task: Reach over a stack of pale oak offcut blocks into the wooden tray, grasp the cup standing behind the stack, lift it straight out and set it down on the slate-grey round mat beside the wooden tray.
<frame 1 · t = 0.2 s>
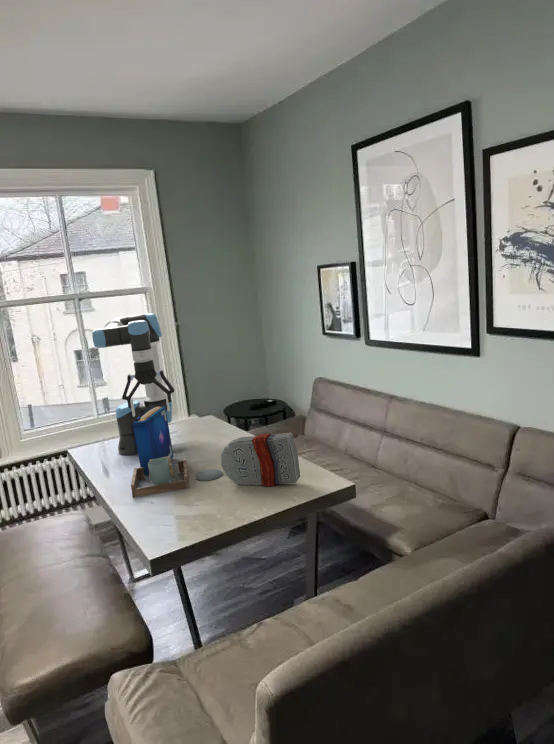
hand: (151, 413, 220), 29 cm above the table, fingers open, 13 cm apart
mat: (208, 475, 226), on the table
book: (157, 467, 242), on the table
offcut top: (160, 465, 229), point 5 cm above the table, touching offcut mid
wooden tray: (161, 483, 223), on the table
cup: (161, 485, 222), resting in wooden tray
decorative stone tablet: (261, 484, 212), on the table
offcut mid: (161, 471, 230), point 2 cm above the table, touching offcut low, offcut top
offcut low: (162, 478, 230), on the table, touching offcut mid
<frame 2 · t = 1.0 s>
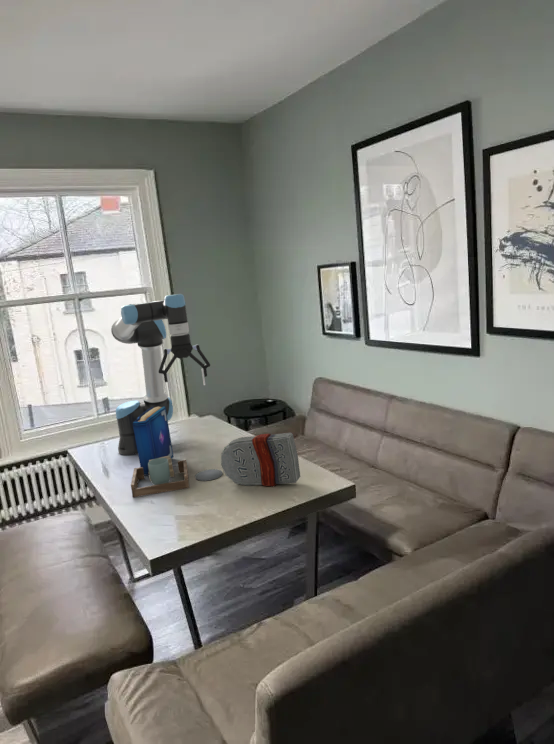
hand: (187, 387, 220), 37 cm above the table, fingers open, 13 cm apart
nothing on the table moved.
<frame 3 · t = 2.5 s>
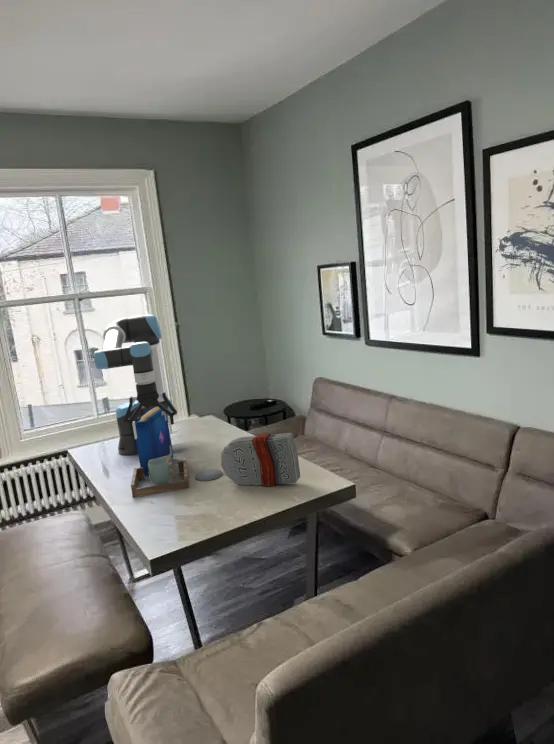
hand: (153, 435, 217), 21 cm above the table, fingers open, 13 cm apart
nothing on the table moved.
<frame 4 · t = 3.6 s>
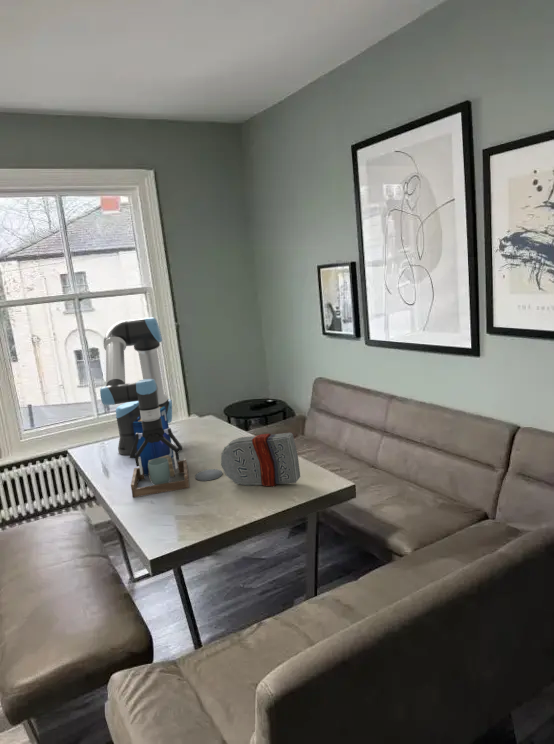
hand: (159, 470, 220), 6 cm above the table, fingers open, 13 cm apart
nothing on the table moved.
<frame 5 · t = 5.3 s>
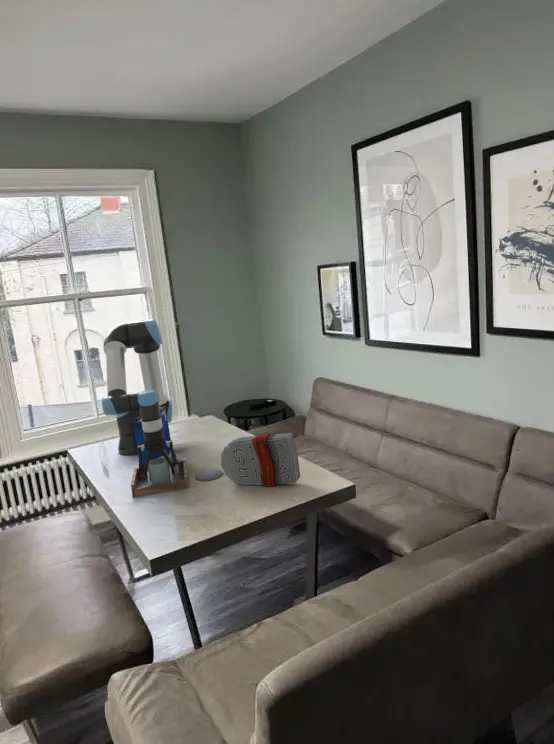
hand: (161, 484, 221), 0 cm above the table, fingers closed on cup, 8 cm apart
offcut top: (159, 465, 229), point 5 cm above the table
cup: (161, 485, 222), resting in wooden tray, touching gripper
offcut mid: (161, 471, 230), point 2 cm above the table, touching offcut low
everything else where it was.
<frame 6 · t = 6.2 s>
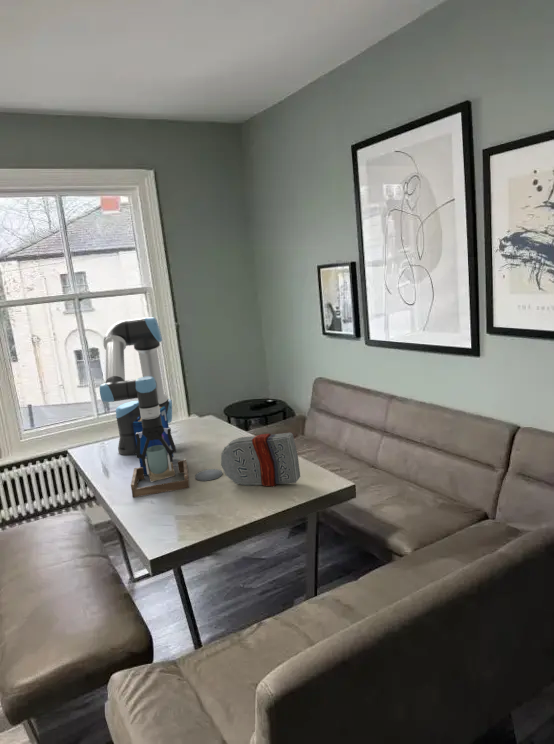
hand: (159, 471, 221), 6 cm above the table, fingers closed on cup, 8 cm apart
offcut top: (160, 465, 229), point 5 cm above the table, touching offcut mid
cup: (159, 472, 221), point 5 cm above the table, touching gripper
offcut mid: (161, 471, 230), point 2 cm above the table, touching offcut low, offcut top
everything else where it was.
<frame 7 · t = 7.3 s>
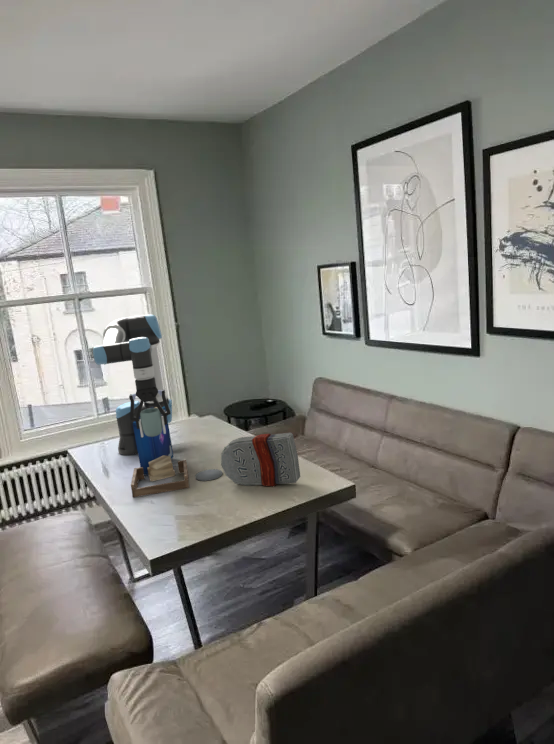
hand: (153, 434, 218), 21 cm above the table, fingers closed on cup, 8 cm apart
cup: (153, 435, 218), point 21 cm above the table, touching gripper
everything else where it was.
when the fingers open (2 cm above the table, at t = 13.1 s): cup drops 1 cm, resting on mat.
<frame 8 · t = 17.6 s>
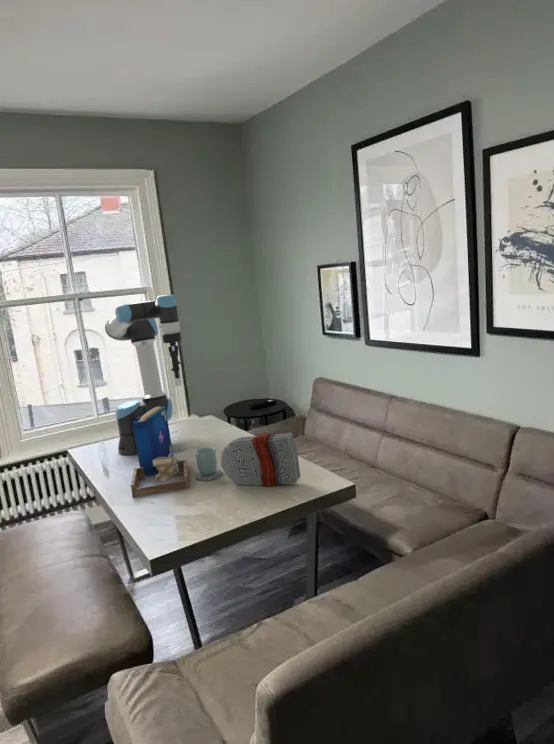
hand: (178, 382, 233), 37 cm above the table, fingers open, 13 cm apart
offcut top: (164, 464, 229), point 5 cm above the table
cup: (208, 474, 226), resting on mat
offcut mid: (164, 470, 230), point 2 cm above the table
offcut low: (167, 477, 231), on the table
everything else where it was.
at the end: cup 0.3 cm from the mat (horizontally); cup tilted 0°; the gripper is holding nothing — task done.
